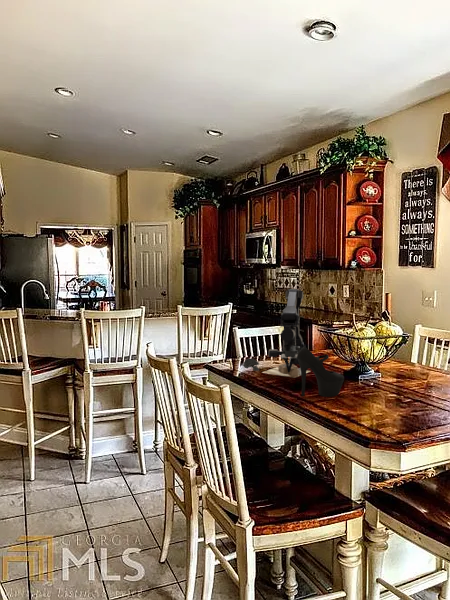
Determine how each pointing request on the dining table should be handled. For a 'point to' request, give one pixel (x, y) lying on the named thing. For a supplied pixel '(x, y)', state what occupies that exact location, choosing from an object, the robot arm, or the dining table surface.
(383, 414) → the dining table surface
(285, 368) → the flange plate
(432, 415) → the dining table surface
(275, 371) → the birch board
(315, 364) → the high-heeled shoe
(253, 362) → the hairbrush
